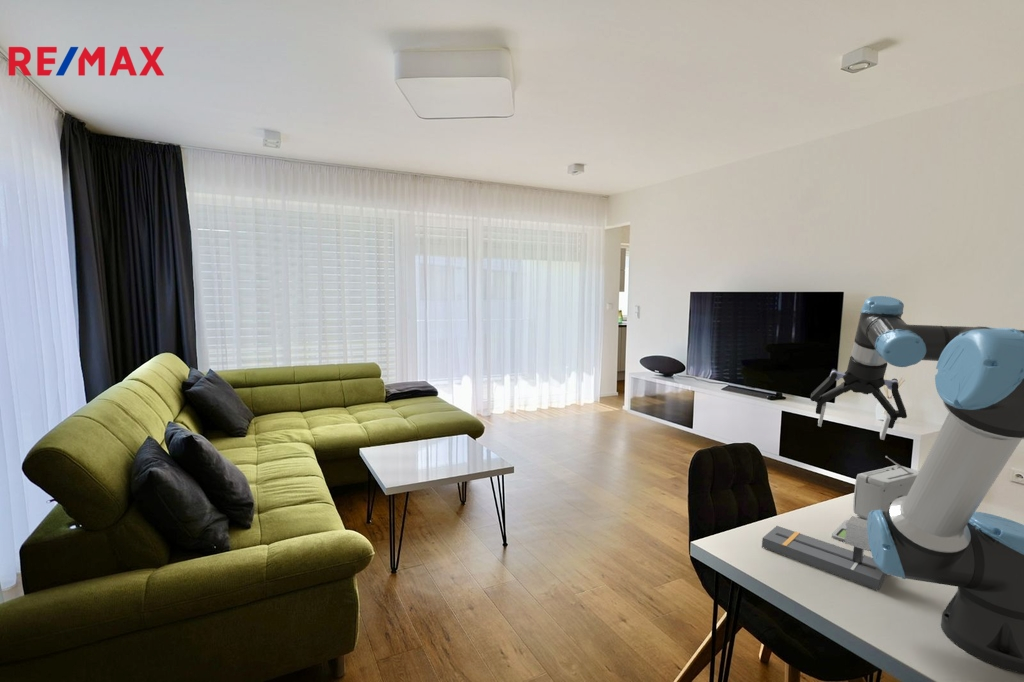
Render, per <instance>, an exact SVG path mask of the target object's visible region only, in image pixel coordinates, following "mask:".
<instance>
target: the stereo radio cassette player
mask: <svg viewBox="0 0 1024 682" xmlns="http://www.w3.org/2000/svg"><path fill="white" fill-rule="evenodd" d="M885 458H886V459H888V460H889V461H890V462H892V463H893V464H895V465H891V466H887V467H883V468H878V469H875V470H874V469H873V470H870V471H865V472H861V473H857V475H856V477H855V478H856V479H855V484H854V491H853V492H854V493H853V508H852V509H853V510H852V511H853V513H854V514H855V515H857V518H861V519H864V520H867V519H868V515H869V513H870V512H871V511H872V510H882V511H888V509H889V507H890V505H891V504H892V502H893V501H894V500H895V499H897V498H900V497H903V496H907V495H908V493H909V491H910V489H911V487H912V485H913V483H914V481H915V479H916V477H917V475H918V473H919V471H920V470H916V469H913V468H911V467H910V468H909V467H906V466H903V465H901V464H899V463H897V462H896V461H894V460H893V459H891V458H889V457H888V455H885Z"/></svg>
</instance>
